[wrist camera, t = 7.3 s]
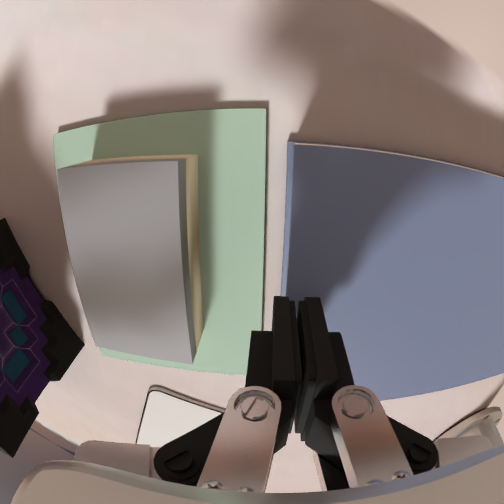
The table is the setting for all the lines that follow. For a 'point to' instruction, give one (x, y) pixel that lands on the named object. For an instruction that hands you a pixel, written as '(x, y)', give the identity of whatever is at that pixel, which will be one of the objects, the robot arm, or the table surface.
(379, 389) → the textbook
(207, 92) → the table surface
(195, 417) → the smartphone
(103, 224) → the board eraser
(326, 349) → the robot arm
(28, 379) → the energy cube
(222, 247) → the mat
